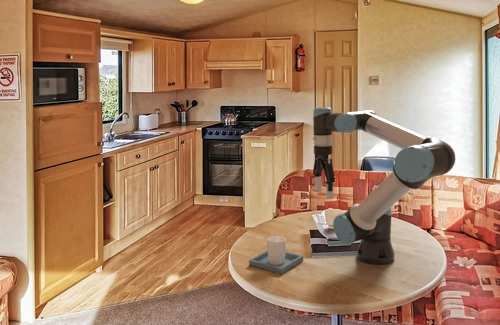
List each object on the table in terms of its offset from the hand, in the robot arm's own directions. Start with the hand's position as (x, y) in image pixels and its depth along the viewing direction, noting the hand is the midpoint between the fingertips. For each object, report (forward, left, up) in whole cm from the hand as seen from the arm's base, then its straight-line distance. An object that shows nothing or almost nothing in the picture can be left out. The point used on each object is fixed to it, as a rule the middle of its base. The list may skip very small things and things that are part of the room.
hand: (323, 195), depth 200 cm
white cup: (+11, +20, -25) cm, 34 cm away
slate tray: (+11, +21, -26) cm, 35 cm away
